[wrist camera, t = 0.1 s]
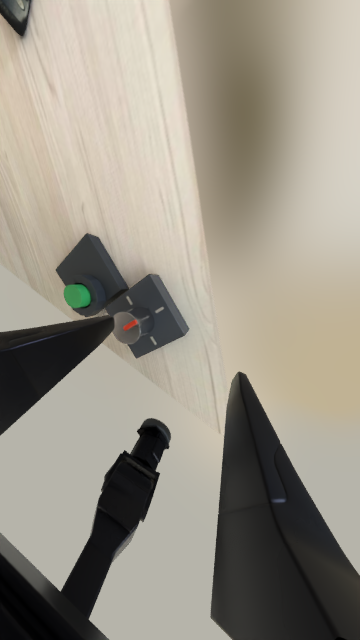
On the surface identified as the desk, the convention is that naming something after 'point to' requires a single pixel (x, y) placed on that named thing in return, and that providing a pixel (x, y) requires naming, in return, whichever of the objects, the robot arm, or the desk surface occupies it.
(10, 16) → the mobile phone
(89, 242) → the button block
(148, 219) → the desk surface
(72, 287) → the button
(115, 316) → the program dial
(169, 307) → the dial panel
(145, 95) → the desk surface
